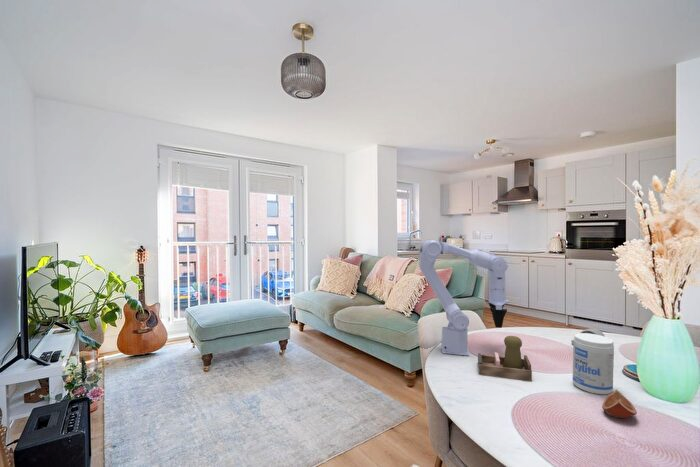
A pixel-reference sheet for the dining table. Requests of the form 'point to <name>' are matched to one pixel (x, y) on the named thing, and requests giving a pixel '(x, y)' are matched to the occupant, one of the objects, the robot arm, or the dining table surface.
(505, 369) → the open box
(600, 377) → the supplement tub
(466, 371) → the dining table surface
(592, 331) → the ceramic mug
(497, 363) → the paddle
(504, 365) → the olive bulbous piece
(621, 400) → the brown wedge piece
